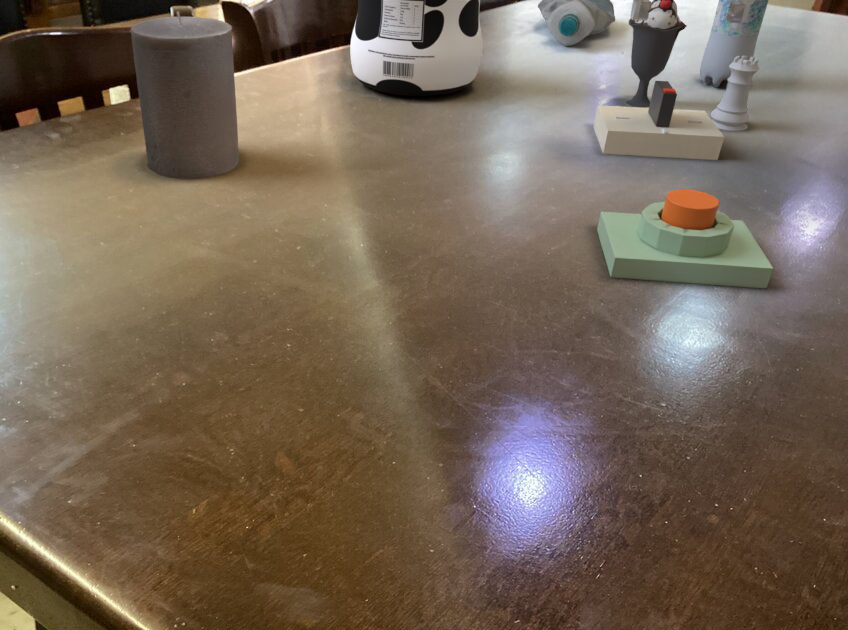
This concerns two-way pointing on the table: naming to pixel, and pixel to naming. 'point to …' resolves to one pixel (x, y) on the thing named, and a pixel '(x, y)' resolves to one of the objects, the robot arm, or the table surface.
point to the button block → (682, 250)
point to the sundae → (653, 45)
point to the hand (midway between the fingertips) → (686, 20)
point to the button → (690, 209)
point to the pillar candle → (187, 95)
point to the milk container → (416, 45)
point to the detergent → (576, 18)
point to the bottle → (730, 41)
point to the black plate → (662, 103)
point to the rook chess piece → (736, 96)
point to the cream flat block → (657, 133)
